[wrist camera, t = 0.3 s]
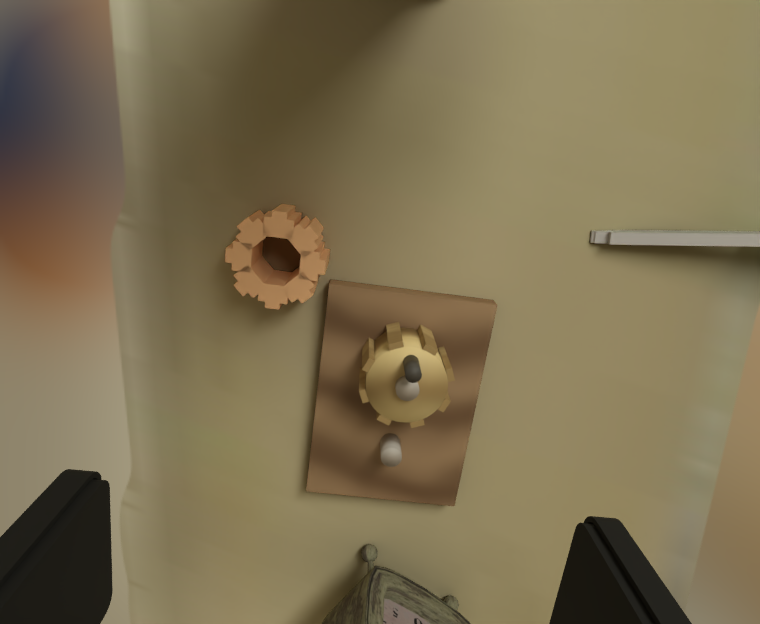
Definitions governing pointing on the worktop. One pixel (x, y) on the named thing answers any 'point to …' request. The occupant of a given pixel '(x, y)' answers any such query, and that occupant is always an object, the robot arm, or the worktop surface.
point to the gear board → (359, 420)
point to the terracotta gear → (257, 271)
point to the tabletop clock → (392, 600)
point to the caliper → (677, 237)
